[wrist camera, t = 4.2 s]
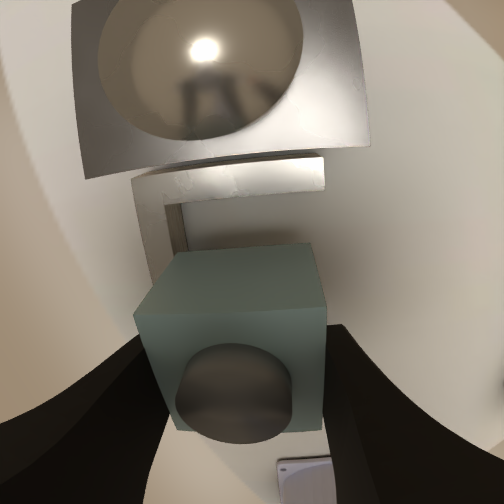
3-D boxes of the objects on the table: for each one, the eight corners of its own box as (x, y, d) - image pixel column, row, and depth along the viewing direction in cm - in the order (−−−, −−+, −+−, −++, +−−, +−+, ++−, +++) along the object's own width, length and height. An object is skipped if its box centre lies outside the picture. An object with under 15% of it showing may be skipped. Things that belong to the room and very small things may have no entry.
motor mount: (332, 347, 16) (353, 458, 10) (188, 353, 17) (152, 456, 10) (315, 19, 10) (347, -67, 4) (135, 46, 11) (35, 5, 5)
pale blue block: (312, 350, 12) (323, 456, 7) (200, 354, 13) (169, 453, 8) (310, 242, 10) (333, 333, 6) (177, 252, 11) (116, 338, 6)
